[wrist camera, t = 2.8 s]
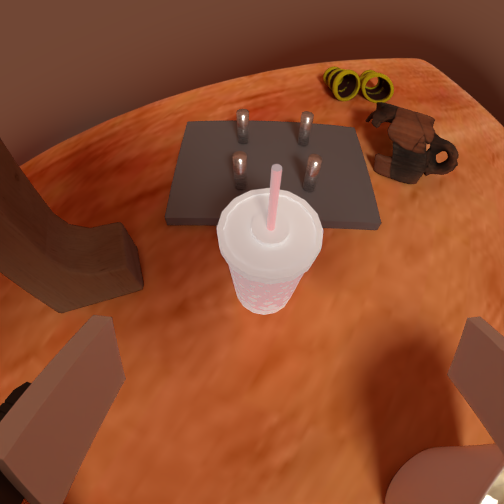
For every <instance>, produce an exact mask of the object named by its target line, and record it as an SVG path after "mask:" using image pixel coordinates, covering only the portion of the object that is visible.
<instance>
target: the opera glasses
mask: <svg viewBox="0 0 504 504" xmlns="http://www.w3.org/2000/svg"><path fill="white" fill-rule="evenodd" d="M373 77H378V83H377V85H376V86H375V87H372V88H369V87H366V83H367V81H368V80H369V79H371V78H373ZM323 80H324V83H325V84H326V85H327V86H329V88H330V89H331V91H332V92H333V94H334V96H335V97H336V98H337V99H338V100H340V101H348V100H351V99H352V98H353V97H354V96H355V95H356V94H357V93H358V91H359V88H360V87H361V90H362V93H363V95H364V97H365V98H366V99H367V100H369V101H370V102H373V103H377V102H383V103H384V102H386V101H388V100H389V99H390V98H391V97H392V95H393V92H394V87H393V83H392V82H391V80H390V79H389V78H388V77H387V76H386V75H384V74H381V73H377V72H375V71H373V70H367V71H364V72H363V73H362V74H361V76H360V77H359V76H358V75H357V73H356V72H354V71H352V70H345V69H340V68H338V67H330V68H328V69H327V70H326V71H325V73H324V75H323Z"/></svg>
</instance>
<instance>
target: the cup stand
mask: <svg viewBox="0 0 504 504" xmlns="http://www.w3.org/2000/svg"><path fill="white" fill-rule="evenodd" d="M313 116H314V115H313V114H312V113H311V112H308V111H305V112H302V116H301V122H300V123H297V122H278V121H249V111H248V110H246V109H239V110H238V111H237V121H193V122H187V126H186V129H185V133H184V137H183V141H182V144H181V148H180V152H179V156H178V160H177V165H176V169H175V173H174V177H173V182H172V186H171V190H170V195H169V200H168V204H167V209H166V214H165V220H166V222H167V225H218V222H219V219H220V216H221V213H222V211H223V210H224V209H225V208H226V207H227V206H228V205H229V203H230V202H231V201H232V200H233V199H234V198H236V197H238V196H240V195H242V194H244V193H246V192H248V191H250V190H257V189H264V188H270V180H271V168H272V165H274V164H279V165H281V166H282V175H281V183H280V190H284V191H289V192H291V193H293V194H295V195H297V196H298V197H300V198H302V199H304V200H305V201H306V202H307V203H308V204H309V205H310V206H311V207H312V208H313V209H314V210H315V212H316V213H317V214H318V217H319V220H320V222H321V225H322V228H340V229H365V230H377V229H378V228H379V226H380V224H381V220H380V216H379V212H378V208H377V203H376V200H375V196H374V192H373V188H372V184H371V181H370V177H369V173H368V170H367V166H366V163H365V160H364V156H363V153H362V150H361V147H360V143H359V140H358V137H357V134H356V131H355V128H353V127H344V126H335V125H324V124H312V122H313Z"/></svg>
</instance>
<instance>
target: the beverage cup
mask: <svg viewBox="0 0 504 504" xmlns="http://www.w3.org/2000/svg"><path fill="white" fill-rule="evenodd" d="M281 175H282V166H281V165H279V164H274V165H272V168H271V180H270V188H264V189H257V190H250V191H248V192H246V193H244V194H242V195H240V196H238V197H236V198H234V199H233V200H232V201H231V202H230V203H229V205H228V206H227V207H226V208H225V209H224V210H223V211H222V213H221V216H220V219H219V222H218V225H217V235H218V242H219V248H220V251H221V254H222V256H223V257H224V259H225V260H226V262H227V263H228V265H229V269H230V272H231V276H232V279H233V283H234V286H235V290H236V293H237V297H238V299H239V300H240V302H241V303H242V305H243V306H244V307H245V308H247V309H248V310H250V311H251V312H253V313H258V314H263V315H265V314H271V313H275V312H277V311H278V310H280V309H282V308H283V307H284V306H285V305H286V303H287V302H288V300H289V299H290V297H291V295H292V294H293V292H294V290H295V288H296V286H297V285H298V283H299V281H300V279H301V277H302V275H303V273H304V272H306V271H308V270H309V268H310V267H311V265H312V264H313V262H314V260H315V259H316V257H317V256H318V254H319V252H320V250H321V247H322V238H323V228H322V225H321V222H320V220H319V217H318V214H317V213H316V212H315V210H314V209H313V208H312V207H311V206H310V205H309V204H308V203H307V202H306V201H305V200H304V199H302V198H300V197H298V196H297V195H295V194H293V193H291V192H289V191H284V190H280V183H281Z"/></svg>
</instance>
